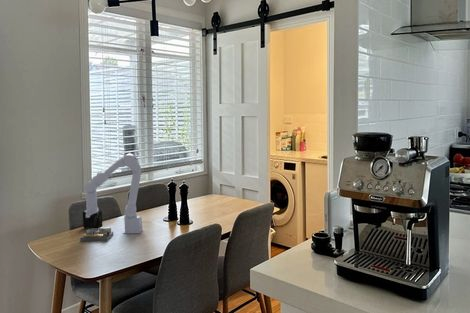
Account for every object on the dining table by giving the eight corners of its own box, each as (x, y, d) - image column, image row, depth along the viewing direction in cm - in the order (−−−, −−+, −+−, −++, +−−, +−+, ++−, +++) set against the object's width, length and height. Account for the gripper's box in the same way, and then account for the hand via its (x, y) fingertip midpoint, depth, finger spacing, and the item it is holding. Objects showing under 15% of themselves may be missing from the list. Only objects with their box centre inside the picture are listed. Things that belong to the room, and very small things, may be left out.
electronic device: (98, 228, 236) (98, 212, 235) (83, 228, 238) (82, 211, 237) (102, 226, 240) (101, 210, 239) (87, 226, 242) (86, 209, 241)
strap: (107, 235, 216) (107, 234, 216) (106, 237, 214) (106, 235, 214) (84, 235, 216) (84, 233, 216) (82, 236, 214) (82, 235, 214)
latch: (92, 232, 221) (92, 229, 221) (90, 235, 217) (89, 231, 217) (88, 233, 221) (88, 229, 221) (85, 235, 217) (85, 231, 217)
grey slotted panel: (113, 235, 224) (112, 227, 224) (107, 241, 213) (106, 233, 213) (88, 235, 224) (87, 227, 224) (80, 241, 213) (80, 233, 213)
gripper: (89, 200, 231) (90, 223, 232) (79, 206, 216) (80, 230, 218) (101, 200, 231) (102, 223, 232) (92, 206, 216) (93, 230, 218)
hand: (92, 227), depth 225 cm, fingers closed
